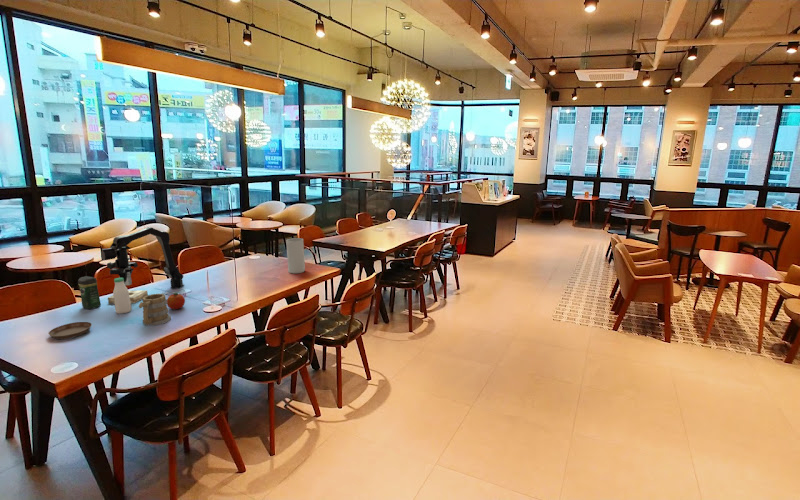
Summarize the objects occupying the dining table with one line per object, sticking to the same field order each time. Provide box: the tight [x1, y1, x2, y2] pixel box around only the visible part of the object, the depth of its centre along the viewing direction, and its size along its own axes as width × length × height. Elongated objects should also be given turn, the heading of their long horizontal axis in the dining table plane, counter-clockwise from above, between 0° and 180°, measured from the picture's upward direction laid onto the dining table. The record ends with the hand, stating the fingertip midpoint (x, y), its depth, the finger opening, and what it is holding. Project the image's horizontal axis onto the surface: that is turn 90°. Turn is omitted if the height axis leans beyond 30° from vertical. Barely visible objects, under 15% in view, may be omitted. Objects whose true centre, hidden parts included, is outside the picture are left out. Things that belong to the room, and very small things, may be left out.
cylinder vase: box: [285, 237, 306, 274], centre depth 327 cm, size 12×12×25 cm
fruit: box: [166, 292, 186, 310], centre depth 252 cm, size 10×10×10 cm
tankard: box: [138, 293, 172, 326], centre depth 229 cm, size 20×13×15 cm, turn 178°
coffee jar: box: [77, 275, 101, 310], centre depth 254 cm, size 10×8×19 cm
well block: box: [107, 289, 149, 304], centre depth 268 cm, size 16×14×4 cm
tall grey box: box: [119, 272, 133, 286], centre depth 266 cm, size 5×3×8 cm, turn 90°
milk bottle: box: [112, 277, 132, 315], centre depth 246 cm, size 8×8×20 cm
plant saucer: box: [48, 321, 93, 340], centre depth 218 cm, size 18×18×3 cm
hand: (126, 281), depth 266 cm, fingers closed on tall grey box, 3 cm apart
